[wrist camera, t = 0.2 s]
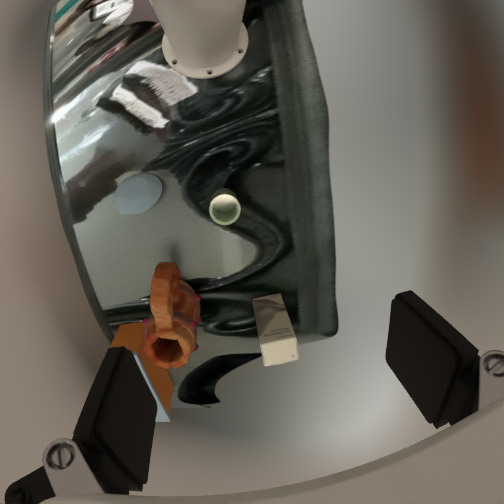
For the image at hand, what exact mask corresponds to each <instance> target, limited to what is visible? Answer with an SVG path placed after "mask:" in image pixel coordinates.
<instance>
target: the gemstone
mask: <svg viewBox="0 0 504 504" xmlns="http://www.w3.org/2000/svg"><path fill="white" fill-rule="evenodd" d="M161 193H162V184H161V182H160V180H159V178H158V177H156V176H154V175H153V174H148V173H140V174H136V175H133V176H131V177H129V178H127V179H125V180H124V181H123V182H122V183H121V184H120V185H119V186H118V187H117V189H116V191H115V193H114V197H113V204H114V207H115V209H116V210H117V211H118V212H119V213H121V214H123V215H128V216H133V215H138V214H142V213H143V212H145V211H147V210H149V209H151V207H152V206H153V205H154V204H155V203H156V202H157V201H158V199H159V197H160V195H161Z"/></svg>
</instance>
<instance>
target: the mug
mask: <svg viewBox="0 0 504 504" xmlns="http://www.w3.org/2000/svg"><path fill="white" fill-rule="evenodd" d="M200 300H201V296H200V295H199V294H196V293H195V292H194V290H193V289H192V288H191V286H189V285H188V284H187V283H186V282H184V281H183V280H180V271H179V269H178V267H177V265H176V263H174V262H161V263H159V264H158V265H157V266H156V268H155V273H154V276H153V279H152V287H151V294H150V305H151V311H152V313H153V314H152V315H151V316H149V318H146V319H143V321H142V324H143V326H145V328H144V338H145V345H144V350H145V352H146V353H147V356H148V357H151V358H152V362H153V363H154V364H156V365H158V366H160V367H163V368H167V369H170V368H171V367H175V368H176V369H178V368H179V367H181V366H183V365H185V364H186V363H187V362H188V361H189V358H190V354H191V353H192V352H193V351H196V350H197V349H198V344H197V343H196V340H197V331H196V326H197V323H199V322H201V317H200Z"/></svg>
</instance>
